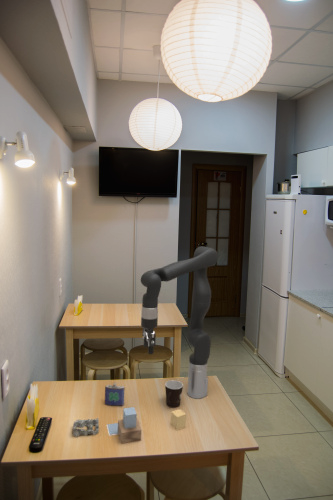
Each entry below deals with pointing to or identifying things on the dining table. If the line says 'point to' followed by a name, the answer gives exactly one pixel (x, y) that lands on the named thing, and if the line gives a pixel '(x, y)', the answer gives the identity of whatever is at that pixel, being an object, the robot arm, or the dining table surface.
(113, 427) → the tile
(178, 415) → the ochre block
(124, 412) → the blue block
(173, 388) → the coffee mug
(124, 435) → the base block
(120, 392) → the flask
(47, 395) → the dining table surface
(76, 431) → the egg carton
